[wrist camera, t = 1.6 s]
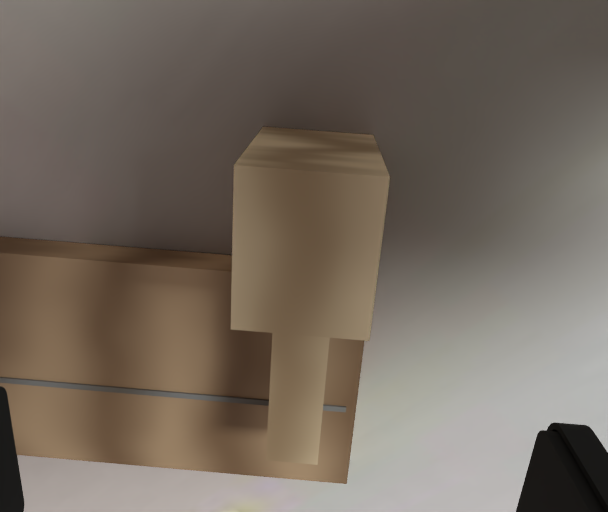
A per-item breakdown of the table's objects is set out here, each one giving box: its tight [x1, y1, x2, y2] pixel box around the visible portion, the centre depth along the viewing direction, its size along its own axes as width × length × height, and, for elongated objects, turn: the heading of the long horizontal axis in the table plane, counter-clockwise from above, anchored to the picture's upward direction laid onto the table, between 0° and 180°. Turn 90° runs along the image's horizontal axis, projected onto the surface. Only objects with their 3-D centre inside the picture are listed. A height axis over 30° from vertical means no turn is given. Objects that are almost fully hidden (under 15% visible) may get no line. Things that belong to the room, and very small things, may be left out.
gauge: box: [231, 127, 390, 465], centre depth 24 cm, size 5×14×8 cm, turn 176°
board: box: [0, 237, 364, 484], centre depth 29 cm, size 24×12×2 cm, turn 86°
